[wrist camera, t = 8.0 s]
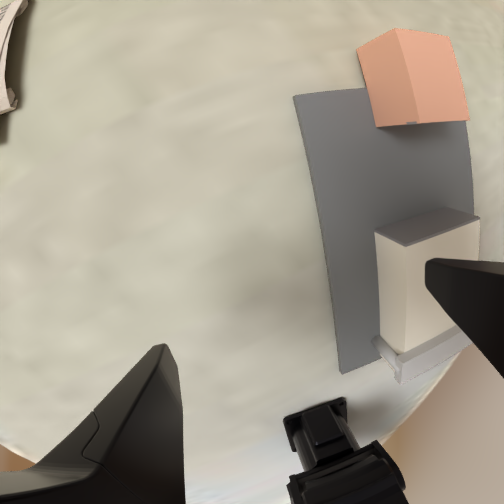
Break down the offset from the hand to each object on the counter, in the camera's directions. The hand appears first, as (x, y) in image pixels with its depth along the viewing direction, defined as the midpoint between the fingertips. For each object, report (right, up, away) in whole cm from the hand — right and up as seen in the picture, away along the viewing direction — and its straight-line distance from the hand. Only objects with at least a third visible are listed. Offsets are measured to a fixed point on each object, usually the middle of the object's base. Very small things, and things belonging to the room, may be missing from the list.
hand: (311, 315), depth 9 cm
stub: (+9, +14, +9) cm, 19 cm away
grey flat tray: (+11, +4, +13) cm, 18 cm away
